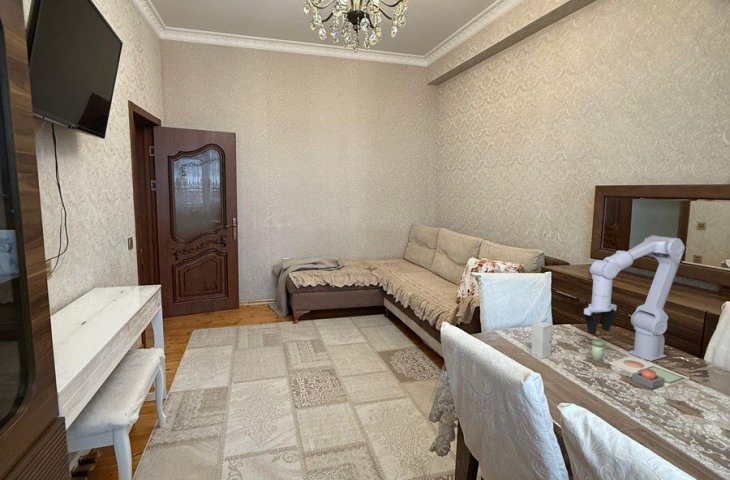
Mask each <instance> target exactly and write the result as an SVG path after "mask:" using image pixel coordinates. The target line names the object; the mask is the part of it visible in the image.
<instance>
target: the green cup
mask: <svg viewBox="0 0 730 480" xmlns="http://www.w3.org/2000/svg"><path fill="white" fill-rule="evenodd" d="M604 346H605V341H603V340H602V339H596V338H594V339H592V340H591V355H590V360H591V361H593V362H596V363H602V362H603V358H604V357H603V353H604Z"/></svg>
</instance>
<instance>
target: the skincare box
mask: <svg viewBox="0 0 730 480" xmlns="http://www.w3.org/2000/svg"><path fill="white" fill-rule="evenodd" d="M531 333H532V334H531V335H532V337H531V338H532V339H531V356H532V357H535V358H537V359H540V360H543V359H546V358H548V357H551V356H552V338H553V323H551V322H546V321H544V320H541V321H537V322H535V323H532V332H531Z"/></svg>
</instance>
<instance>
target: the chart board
mask: <svg viewBox="0 0 730 480" xmlns="http://www.w3.org/2000/svg"><path fill="white" fill-rule="evenodd" d="M609 365H612V366H614V367H617V368H618V369H621V370H624V371H627V372H629V373H632V374H633V373H636V372H639V371H642V369H650V370H653V371H655V372H656V375H658V376H660V377H663V378H665V380H664V386H663V387H666V388H670V387H672V386H675V385H679V384H680V383H684V382H686V381H687V382H688V381H689V380H690V377H688V376H687V375H686V376H685V375H682V374H680V373H677V372H676V371H672V370H669V369H667V368H664V367H661V366H659V365H656V364H653V363H650V362H648V361H645V360H642V359H641V358H640V359H639V358H637V357H634V356H627V357H624V358H619V359H616V360H613V361H610V362H609Z"/></svg>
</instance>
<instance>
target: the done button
mask: <svg viewBox="0 0 730 480" xmlns="http://www.w3.org/2000/svg"><path fill="white" fill-rule="evenodd" d="M641 376H642V377H644V378H647V379H649V380H655V377H656V372H655V371H653V370H650V369H642V371H641Z"/></svg>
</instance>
